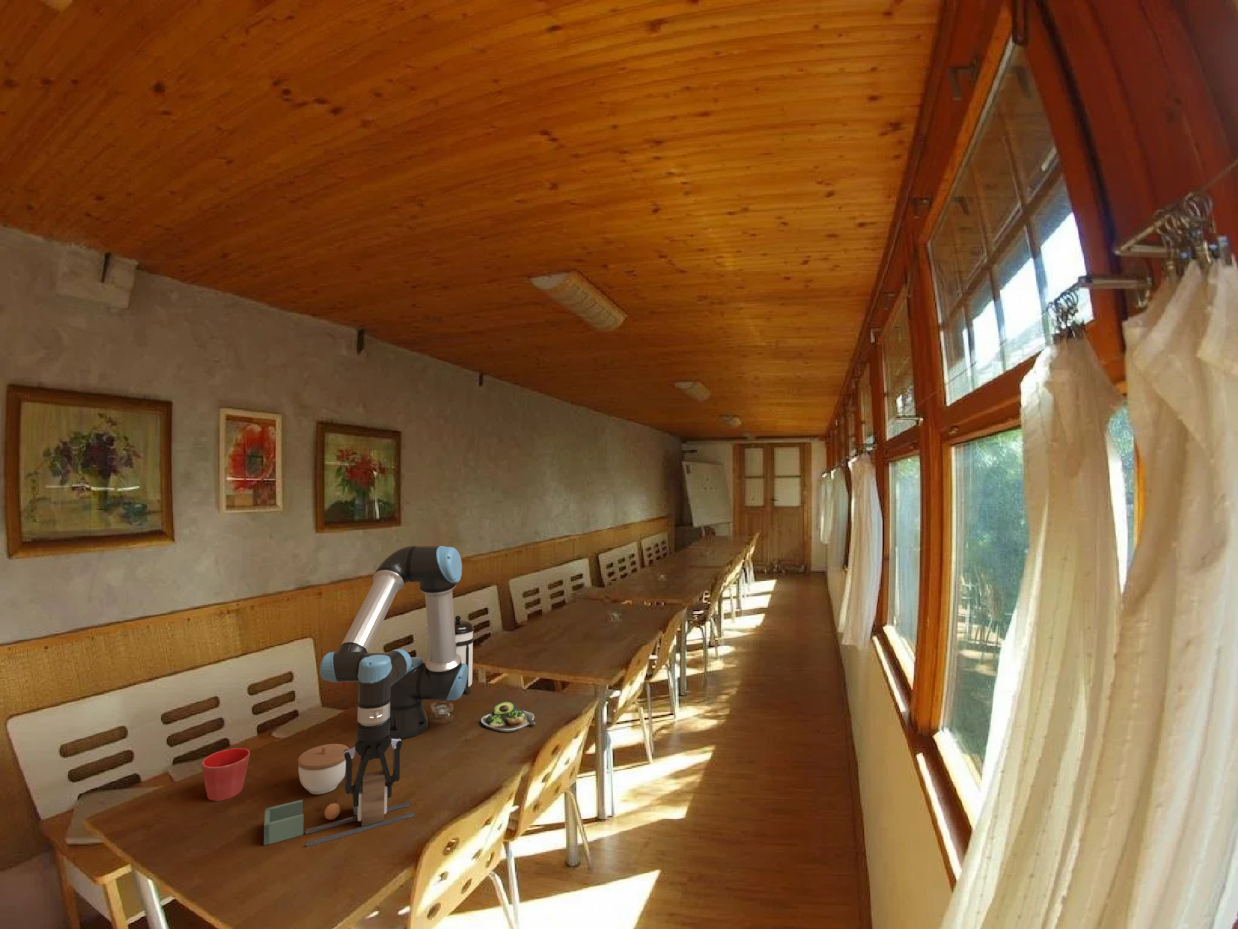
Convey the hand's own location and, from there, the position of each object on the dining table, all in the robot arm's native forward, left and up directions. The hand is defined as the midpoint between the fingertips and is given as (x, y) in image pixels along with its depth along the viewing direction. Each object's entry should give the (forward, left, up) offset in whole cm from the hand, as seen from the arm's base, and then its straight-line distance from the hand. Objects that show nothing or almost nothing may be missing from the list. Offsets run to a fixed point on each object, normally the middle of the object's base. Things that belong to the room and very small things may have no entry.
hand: (372, 814), depth 141 cm
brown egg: (-6, -8, -2) cm, 11 cm away
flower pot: (-33, -32, -2) cm, 47 cm away
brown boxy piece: (-3, -1, -1) cm, 3 cm away
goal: (-6, -19, -2) cm, 20 cm away
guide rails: (0, -2, -2) cm, 3 cm away
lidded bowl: (-23, -9, -2) cm, 25 cm away
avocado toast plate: (-40, +49, -2) cm, 63 cm away
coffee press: (-76, +42, -2) cm, 87 cm away
